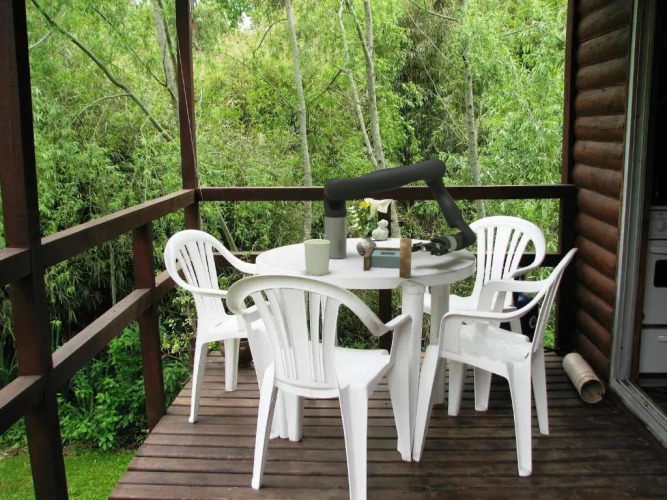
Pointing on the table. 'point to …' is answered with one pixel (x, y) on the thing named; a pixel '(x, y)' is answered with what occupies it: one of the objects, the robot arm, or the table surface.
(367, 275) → the table surface
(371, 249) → the backstop fence
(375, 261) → the socket block
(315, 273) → the candle holder
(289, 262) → the table surface
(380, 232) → the duck figurine
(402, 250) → the oak dowel
